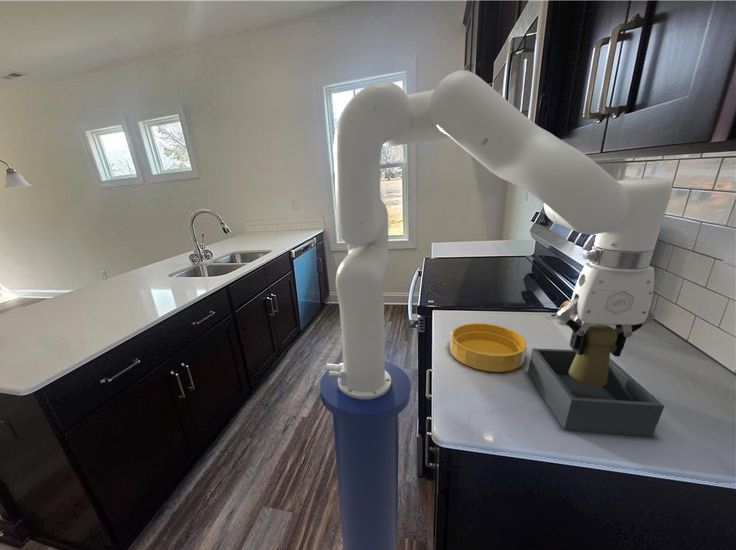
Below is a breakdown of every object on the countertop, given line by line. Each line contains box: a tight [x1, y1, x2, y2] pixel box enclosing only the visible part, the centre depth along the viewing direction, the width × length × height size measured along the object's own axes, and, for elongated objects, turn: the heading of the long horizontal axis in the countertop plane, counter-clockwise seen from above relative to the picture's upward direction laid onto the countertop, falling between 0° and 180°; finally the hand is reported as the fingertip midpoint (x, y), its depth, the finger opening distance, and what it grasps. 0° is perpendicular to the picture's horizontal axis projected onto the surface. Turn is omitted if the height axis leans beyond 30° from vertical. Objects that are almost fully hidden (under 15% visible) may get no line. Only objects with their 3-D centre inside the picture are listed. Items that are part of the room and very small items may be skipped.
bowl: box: [449, 322, 528, 373], centre depth 81 cm, size 17×17×4 cm
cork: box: [568, 324, 617, 387], centre depth 60 cm, size 6×6×11 cm
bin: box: [527, 347, 665, 438], centre depth 62 cm, size 14×18×7 cm
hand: (594, 351), depth 59 cm, fingers closed on cork, 5 cm apart
